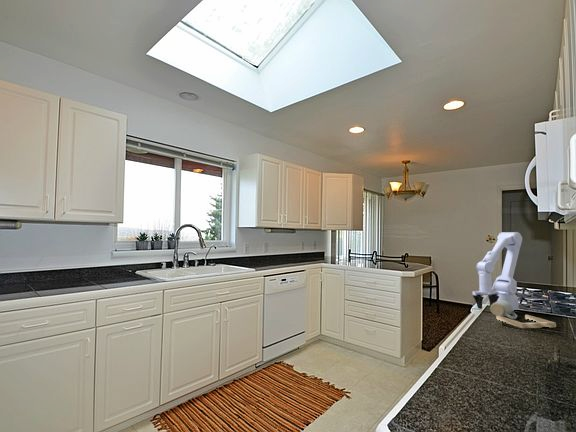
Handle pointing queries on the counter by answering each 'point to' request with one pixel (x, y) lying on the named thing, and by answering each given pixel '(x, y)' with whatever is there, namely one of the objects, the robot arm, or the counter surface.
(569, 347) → the counter surface
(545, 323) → the bent wooden beam
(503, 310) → the ceramic mug
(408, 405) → the counter surface
